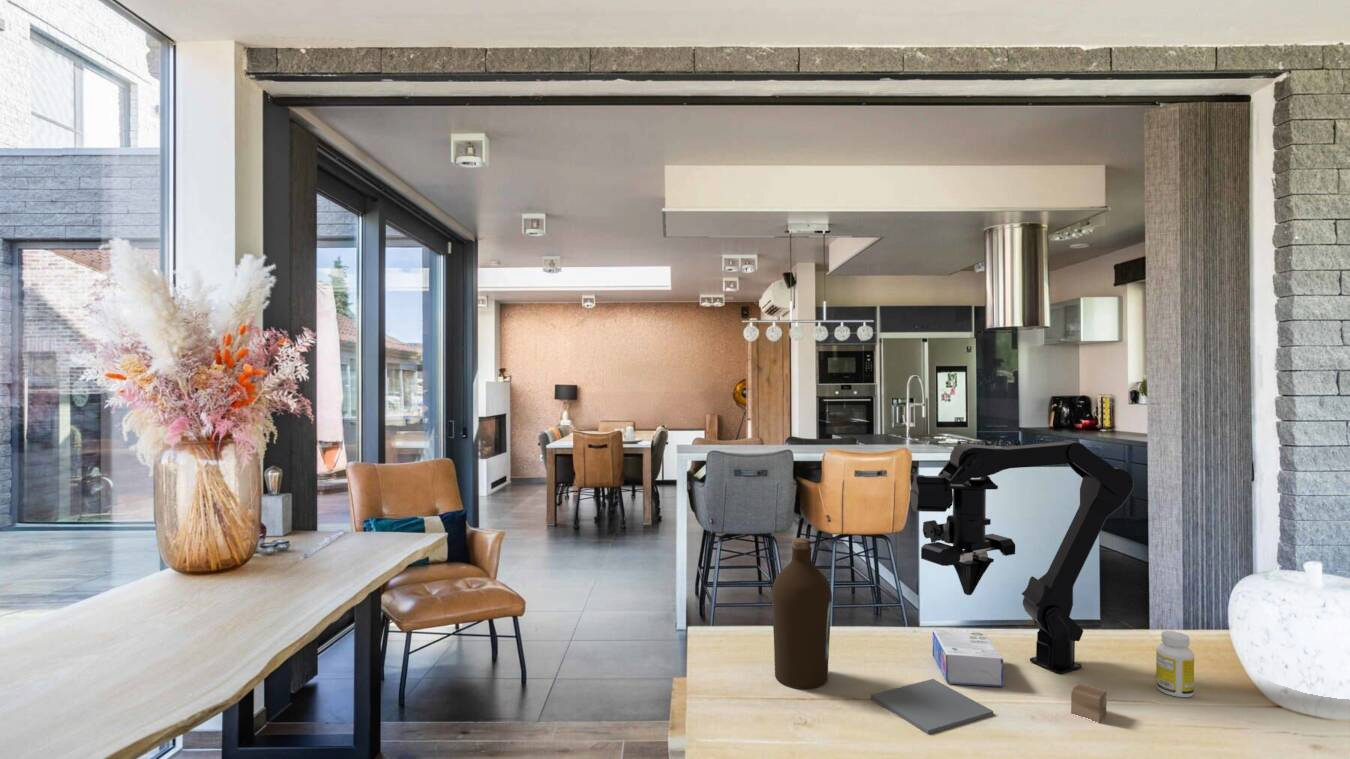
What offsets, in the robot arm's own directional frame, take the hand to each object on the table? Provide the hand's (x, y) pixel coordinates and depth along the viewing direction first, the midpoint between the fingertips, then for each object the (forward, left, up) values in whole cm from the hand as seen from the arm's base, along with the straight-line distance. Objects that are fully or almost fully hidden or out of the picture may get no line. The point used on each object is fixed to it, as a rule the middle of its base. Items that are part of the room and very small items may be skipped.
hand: (968, 594), depth 137 cm
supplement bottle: (-23, +24, -13) cm, 36 cm away
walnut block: (-2, +23, -13) cm, 26 cm away
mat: (+19, +10, -13) cm, 25 cm away
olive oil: (+32, -8, -13) cm, 35 cm away
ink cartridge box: (+7, +8, -10) cm, 15 cm away
